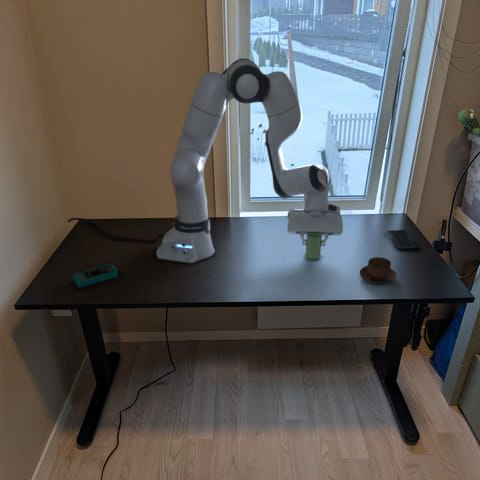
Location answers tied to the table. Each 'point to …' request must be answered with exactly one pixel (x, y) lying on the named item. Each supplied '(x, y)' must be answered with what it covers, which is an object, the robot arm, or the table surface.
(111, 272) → the digital multimeter
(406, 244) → the phone
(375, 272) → the cup and saucer
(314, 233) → the green cylindrical container
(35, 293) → the table surface
